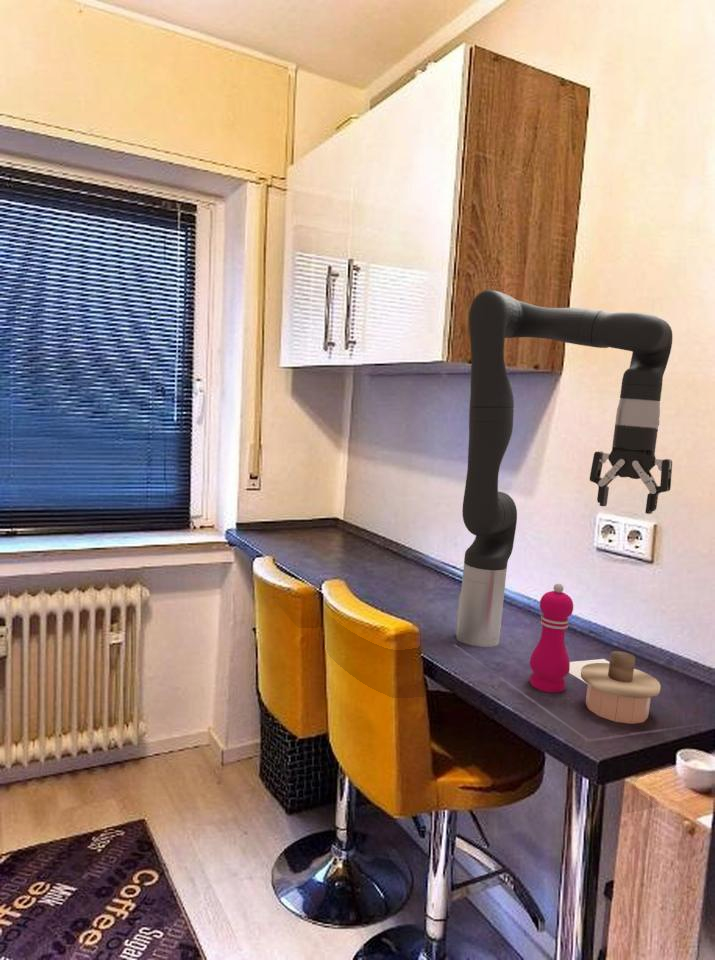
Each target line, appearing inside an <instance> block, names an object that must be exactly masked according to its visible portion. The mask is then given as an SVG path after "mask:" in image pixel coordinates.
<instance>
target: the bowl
mask: <svg viewBox="0 0 715 960" xmlns="http://www.w3.org/2000/svg"><path fill="white" fill-rule="evenodd" d="M586 688H587V689H586V696H585V705H586V707H587V709H588V710H589V711H590V712H592V713H593V714H595V715H597V716H598V717H600V718H604V719H606V720H610V721H613V722H616V723H621V724H622V723H623V724H629V725H630V724H631V725H632V724H641V723H644V722H646V720H647V719H648V718H649V712H650V705H651V698H652V697H650V698H630V697H623V696H618V695H614V694H610V693H607V692H604V691H601V690H599V689H597V688H595V687H593V686H591V685H589V684H587V687H586Z"/></svg>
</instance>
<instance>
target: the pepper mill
mask: <svg viewBox="0 0 715 960" xmlns="http://www.w3.org/2000/svg"><path fill="white" fill-rule="evenodd" d="M563 591H564V586H563V584H561V583H555V584H554V585H553V590H551V591H547V592H546V593H544V594H543V595H542V596H541V598H540V600H539V609H540V611H541V613H542V615H541V616H540V618H541V620H540V625H542V627H541V628H542V631H541V636H540V638H539V641H538V643H537V644H536V646H535V648H534V650H533V651H532V653H531V656H530V659H529V666H530V669H531V671H532V672H533V673H531V675H530V678H529V679H530V680H529V681H530V682H529V683H530V685H531V686H533V688H535V689H537V690H540V691H543V692H547V693H548V692H549V693H559V692H563V691H564V690H565V687H566V680H565V679H564V678H565V677H566V676H568V674H570V673H569V670H570V662H571V661H570V657H569V653H568V651H567V648H566V644H565V643H566V642H565V633H566V629H568V628H569V621H570V619H568V618H569V617H570V616H571V615H572V614H573V611H574V602H573V600H572V598H571V596H569V595H568V594H566V593H565V592H563Z"/></svg>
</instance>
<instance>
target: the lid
mask: <svg viewBox="0 0 715 960" xmlns="http://www.w3.org/2000/svg"><path fill="white" fill-rule="evenodd" d="M609 655H610V657H609V662H610V663H592V664H588V665H585V666H583V667H582V669H581V677H582V679H583V680H584V681H585V682H586V683H588V684H589V685H591V686H593V687H595V688H597V689H599V690H601V691H604V692H607V693H610V694H614V695H618V696H623V697H630V698H650V697H651V698H655V697H656V696H658V695H659V694H660V693H661V687H662V686H661V684H660V682H659V681H658V679H656V678H655V677H654V676H653V675H651V674H648V673H646V672H644V671H642V670H639V669H636V668H635V665H636V664H635V662H636V656H634V655H633V654H631V653H629V652H625V651H620V650H619V651H618V650H614V651H611V652H610V654H609ZM585 682H584V683H585ZM586 683H585V684H586ZM588 684H587V685H588Z"/></svg>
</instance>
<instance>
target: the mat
mask: <svg viewBox="0 0 715 960" xmlns="http://www.w3.org/2000/svg"><path fill="white" fill-rule="evenodd" d="M569 662H570V670H569V673H568V674H570V675H571V676H573V677H574V678H577V679H578V680H580V681H582V682H583V683H584V684H586V685H588V683H586V682H585V681H584V680H583V679H582V677H581V669H582V667H583V666H585V665H588V664H592V663H610V660H609V661H608V660H606V658H600V659H599V658H598V659H590V660H589V659H587V660H577V661H576V660H575V661H569Z"/></svg>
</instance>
